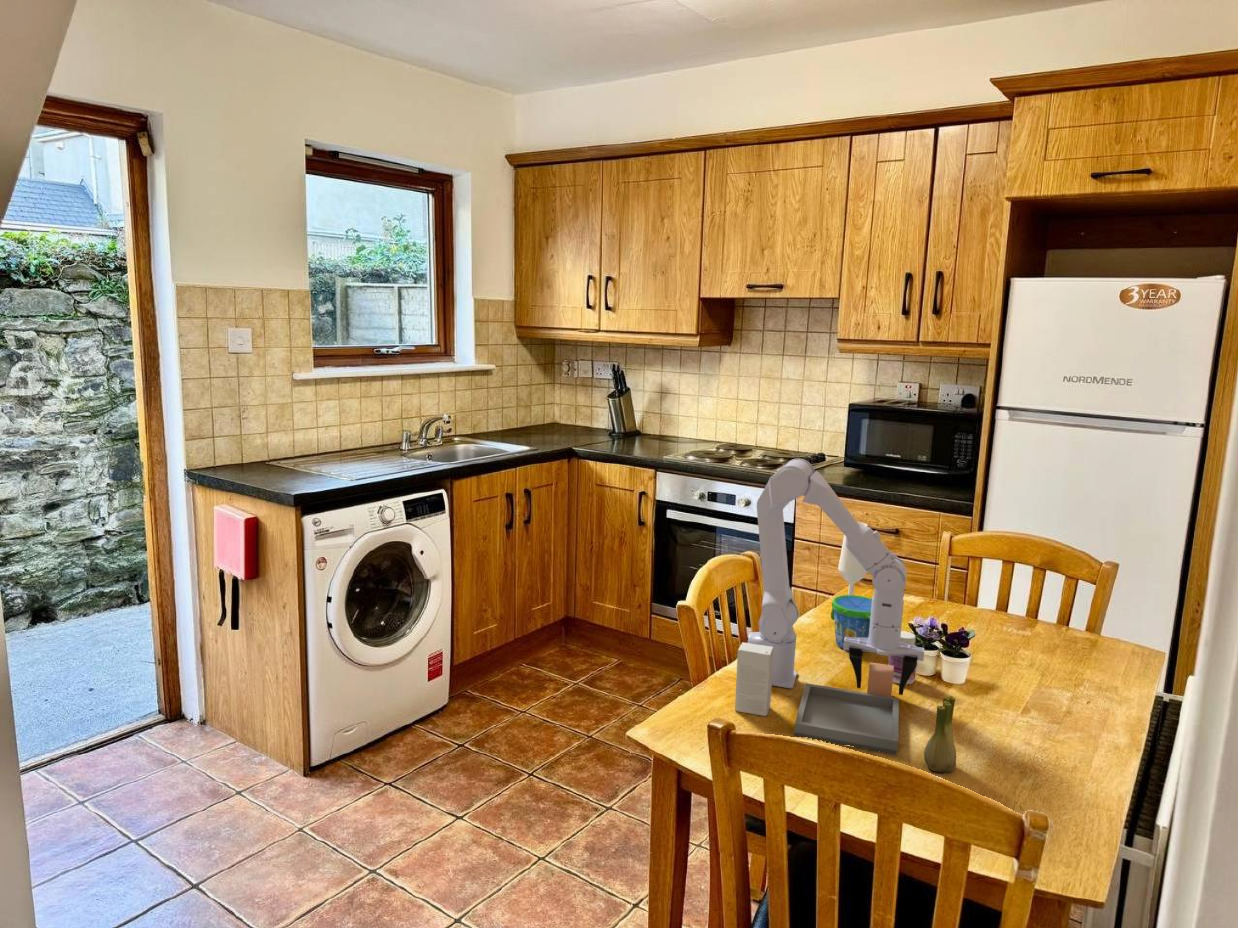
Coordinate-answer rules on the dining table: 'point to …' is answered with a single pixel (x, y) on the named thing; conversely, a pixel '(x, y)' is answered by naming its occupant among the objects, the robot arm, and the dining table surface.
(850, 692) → the grey bin
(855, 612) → the snack cup
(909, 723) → the dining table surface
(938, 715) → the fennel bulb
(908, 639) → the pill bottle
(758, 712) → the skincare box
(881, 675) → the terracotta block
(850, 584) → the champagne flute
